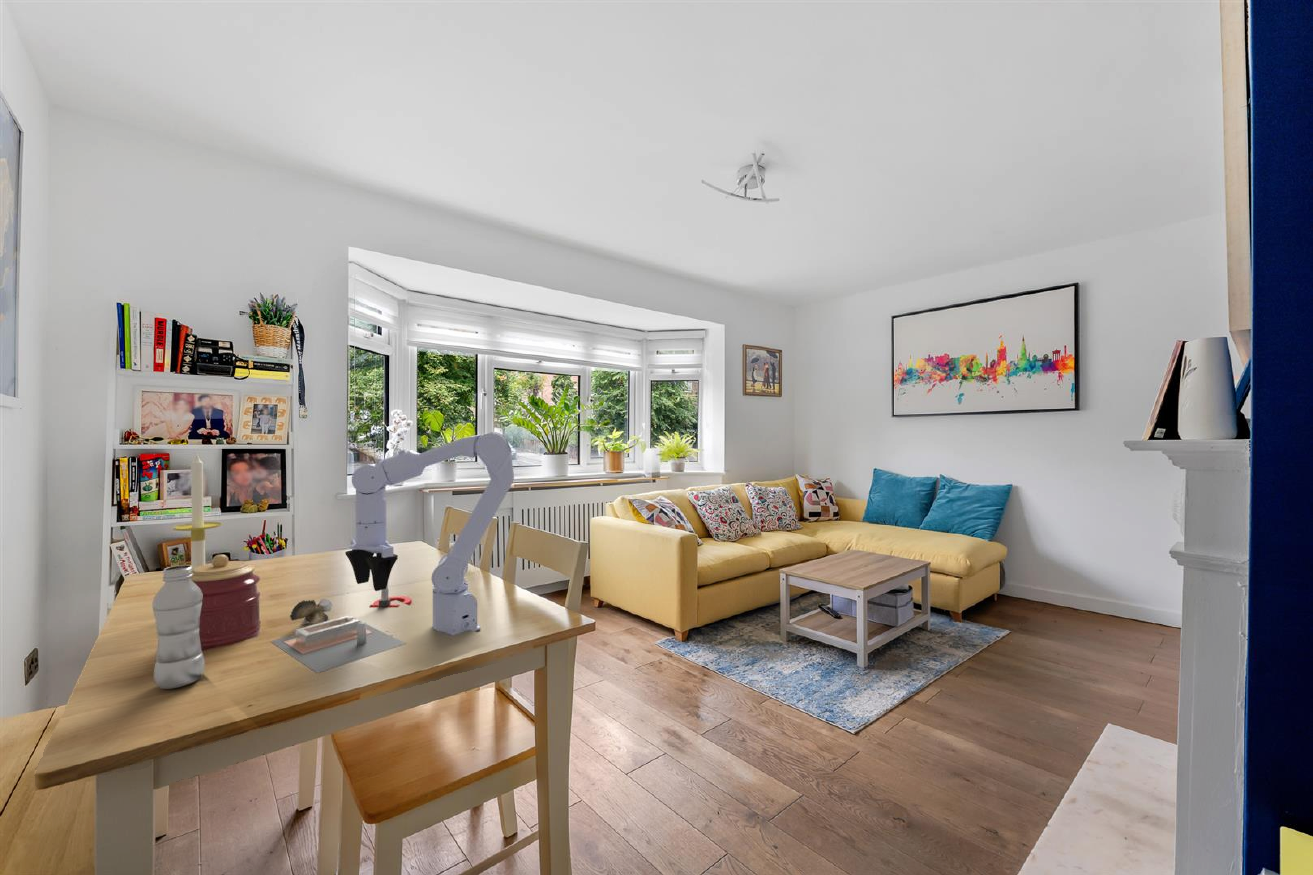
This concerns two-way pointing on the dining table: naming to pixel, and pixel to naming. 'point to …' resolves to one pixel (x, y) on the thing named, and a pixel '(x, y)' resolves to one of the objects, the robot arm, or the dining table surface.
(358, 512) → the robot arm
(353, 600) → the dining table surface
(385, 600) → the tow hook
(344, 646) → the post board
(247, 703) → the dining table surface
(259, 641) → the dining table surface
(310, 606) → the eagle figurine
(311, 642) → the c link
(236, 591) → the canister
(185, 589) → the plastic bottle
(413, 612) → the dining table surface
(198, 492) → the candle
